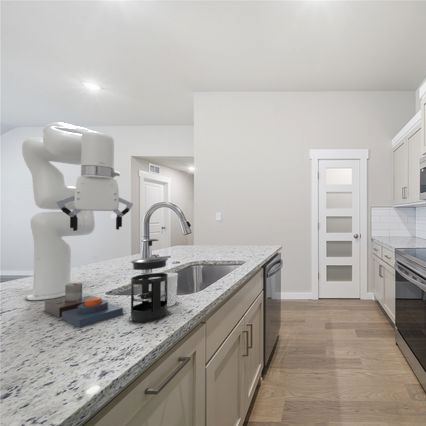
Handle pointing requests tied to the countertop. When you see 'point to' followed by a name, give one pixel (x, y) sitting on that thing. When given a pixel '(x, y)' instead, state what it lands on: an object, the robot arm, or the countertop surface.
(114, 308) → the button block
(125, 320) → the countertop surface
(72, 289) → the lock knob
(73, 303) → the panel
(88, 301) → the release button
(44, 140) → the robot arm
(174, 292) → the white cup
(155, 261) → the french press
